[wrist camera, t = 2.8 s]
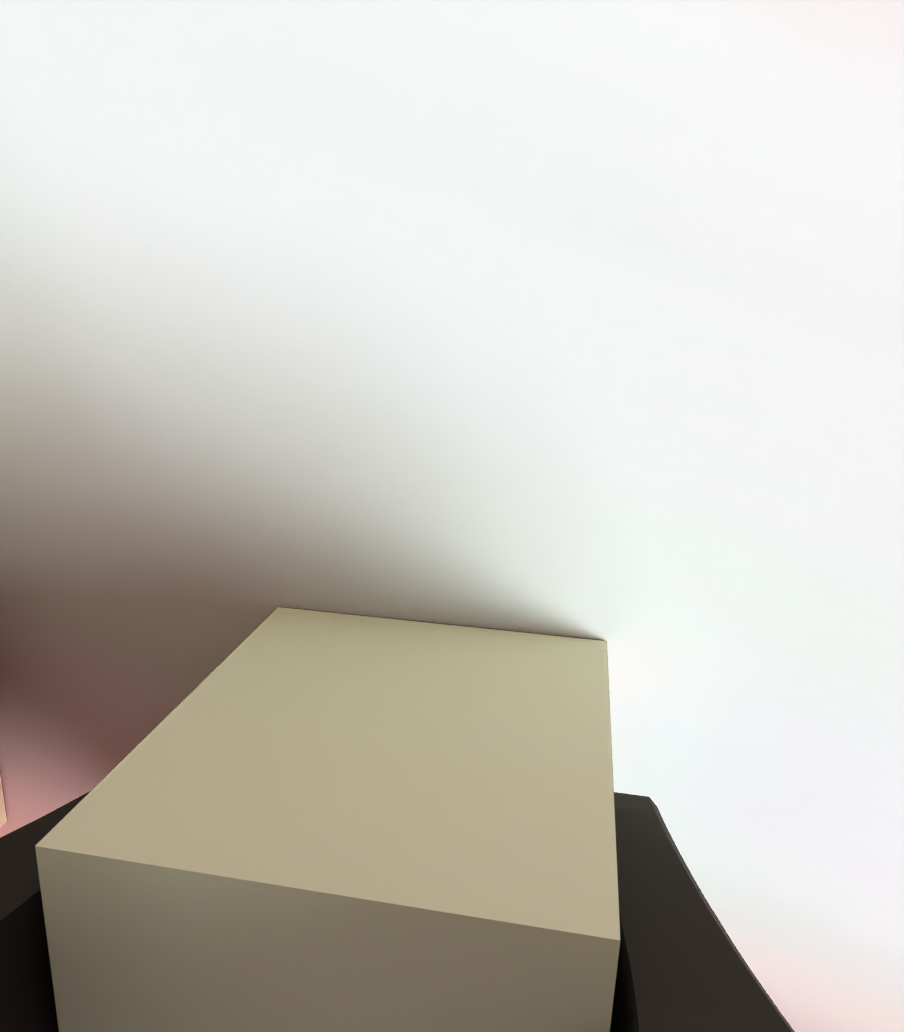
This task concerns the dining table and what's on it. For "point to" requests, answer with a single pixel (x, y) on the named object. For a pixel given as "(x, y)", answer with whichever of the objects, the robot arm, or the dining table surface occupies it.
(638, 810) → the robot arm
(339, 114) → the dining table surface
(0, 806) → the birch slab
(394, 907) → the sage cube
